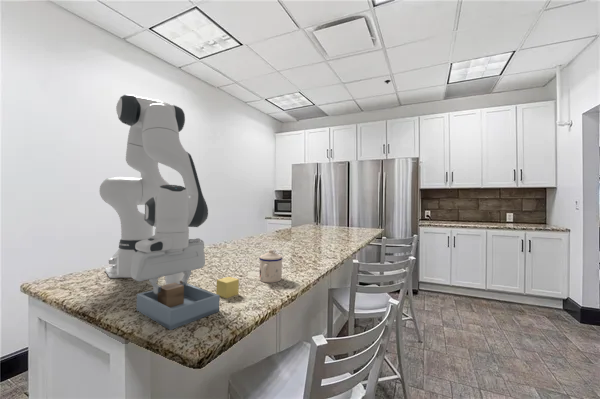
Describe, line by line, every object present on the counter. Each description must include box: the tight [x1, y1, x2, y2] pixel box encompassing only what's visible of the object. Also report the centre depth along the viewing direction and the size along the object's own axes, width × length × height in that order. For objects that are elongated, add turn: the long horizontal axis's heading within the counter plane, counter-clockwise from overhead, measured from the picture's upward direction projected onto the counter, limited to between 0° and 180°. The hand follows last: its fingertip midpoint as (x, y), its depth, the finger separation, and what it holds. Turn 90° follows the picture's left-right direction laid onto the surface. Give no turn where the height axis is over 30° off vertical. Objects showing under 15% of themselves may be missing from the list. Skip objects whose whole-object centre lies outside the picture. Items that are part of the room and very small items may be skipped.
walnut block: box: [158, 283, 184, 307], centre depth 78 cm, size 5×5×5 cm
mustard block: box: [215, 276, 240, 299], centre depth 89 cm, size 5×5×5 cm
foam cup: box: [164, 272, 184, 285], centre depth 96 cm, size 10×9×13 cm
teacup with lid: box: [258, 249, 283, 284], centre depth 105 cm, size 12×9×12 cm
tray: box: [136, 283, 221, 331], centre depth 75 cm, size 18×14×4 cm
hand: (170, 289), depth 78 cm, fingers open, 6 cm apart
